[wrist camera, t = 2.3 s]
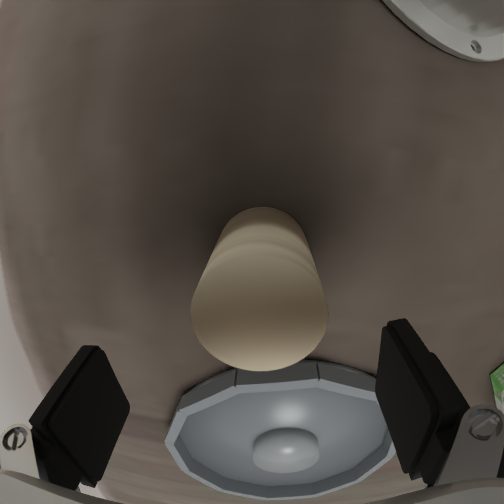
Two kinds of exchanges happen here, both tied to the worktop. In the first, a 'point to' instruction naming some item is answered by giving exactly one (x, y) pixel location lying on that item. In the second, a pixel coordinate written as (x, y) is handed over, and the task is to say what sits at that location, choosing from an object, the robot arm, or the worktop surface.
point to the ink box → (498, 387)
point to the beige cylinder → (260, 294)
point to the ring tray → (281, 431)
